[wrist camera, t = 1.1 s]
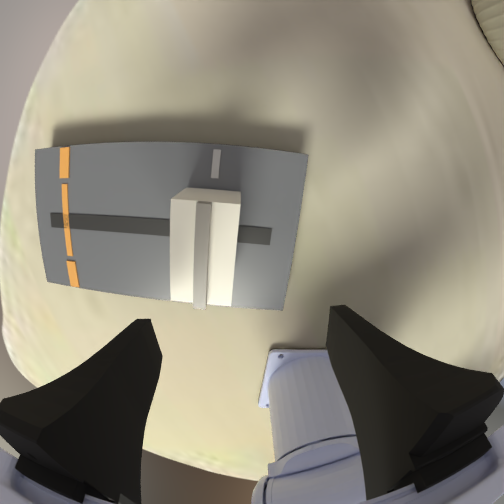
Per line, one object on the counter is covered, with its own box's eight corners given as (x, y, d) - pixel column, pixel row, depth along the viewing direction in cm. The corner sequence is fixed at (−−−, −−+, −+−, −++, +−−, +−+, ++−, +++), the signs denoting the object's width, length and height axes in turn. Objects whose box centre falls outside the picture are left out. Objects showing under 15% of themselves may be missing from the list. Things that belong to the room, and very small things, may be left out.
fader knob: (240, 191, 15) (240, 206, 11) (232, 274, 16) (230, 312, 13) (186, 187, 14) (167, 201, 11) (183, 270, 16) (168, 305, 12)
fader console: (300, 154, 16) (308, 154, 14) (279, 295, 20) (282, 311, 18) (51, 147, 15) (34, 149, 13) (59, 270, 18) (46, 282, 16)
